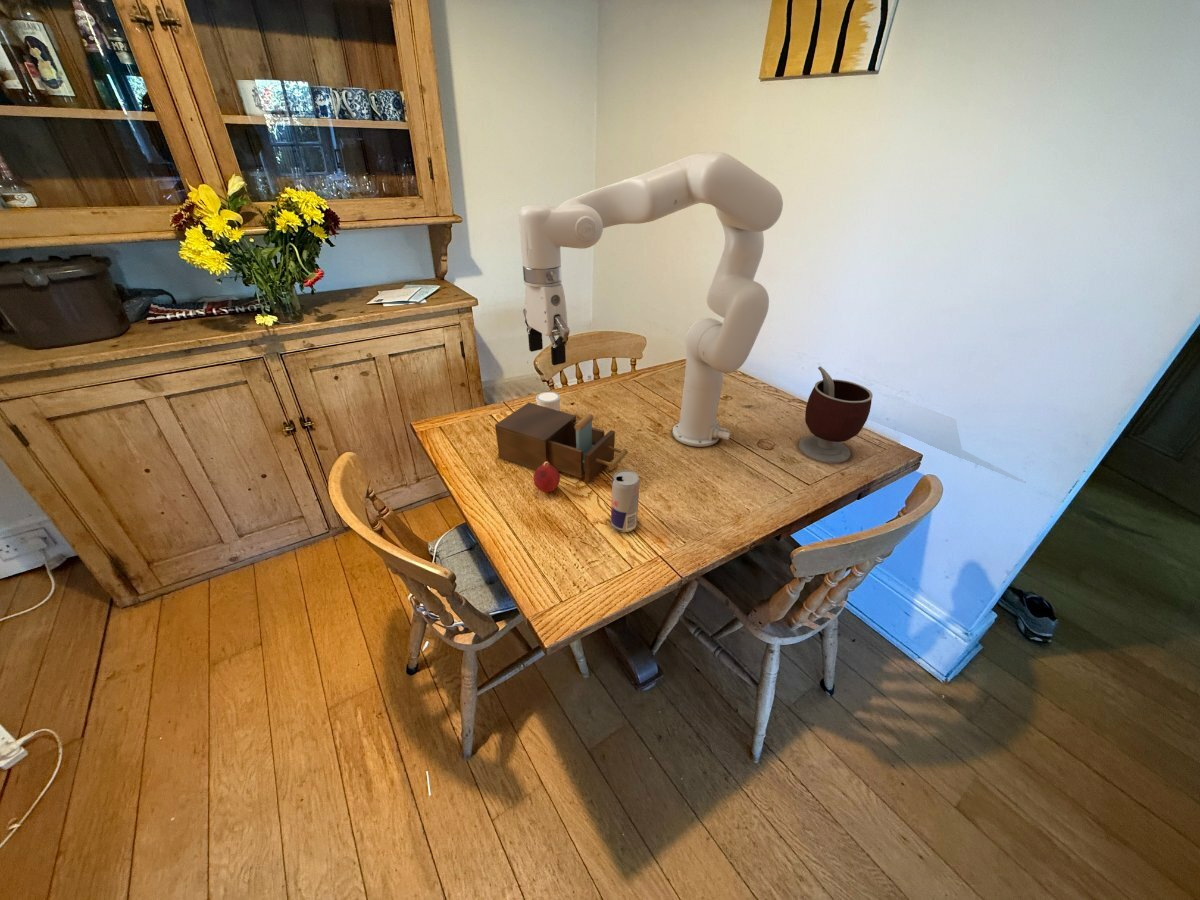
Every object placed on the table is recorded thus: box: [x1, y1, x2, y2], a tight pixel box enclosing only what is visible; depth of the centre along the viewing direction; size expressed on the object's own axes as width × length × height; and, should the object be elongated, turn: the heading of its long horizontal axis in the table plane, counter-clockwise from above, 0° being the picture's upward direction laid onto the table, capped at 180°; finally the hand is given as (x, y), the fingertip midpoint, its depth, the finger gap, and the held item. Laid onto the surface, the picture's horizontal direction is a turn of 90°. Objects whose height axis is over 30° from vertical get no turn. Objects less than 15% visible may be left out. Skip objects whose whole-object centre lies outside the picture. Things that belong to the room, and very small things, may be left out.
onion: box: [533, 461, 561, 493], centre depth 102 cm, size 6×6×8 cm
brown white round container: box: [535, 391, 561, 411], centre depth 131 cm, size 7×7×7 cm
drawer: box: [547, 421, 629, 485], centre depth 109 cm, size 18×12×8 cm
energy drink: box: [610, 469, 641, 533], centre depth 92 cm, size 5×5×12 cm
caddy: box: [574, 413, 594, 472], centre depth 108 cm, size 5×8×12 cm, turn 151°
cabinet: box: [494, 402, 577, 471], centre depth 115 cm, size 15×14×10 cm
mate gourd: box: [798, 365, 873, 464], centre depth 115 cm, size 16×14×20 cm
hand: (547, 356), depth 101 cm, fingers open, 9 cm apart
